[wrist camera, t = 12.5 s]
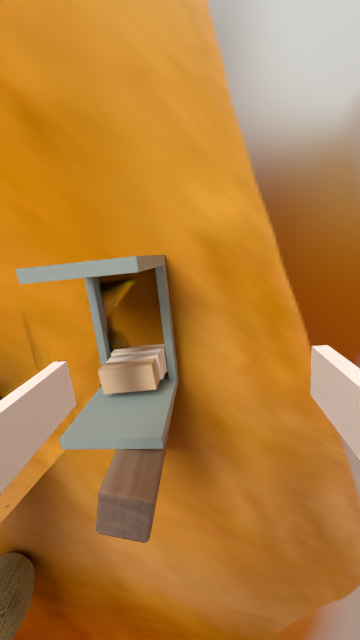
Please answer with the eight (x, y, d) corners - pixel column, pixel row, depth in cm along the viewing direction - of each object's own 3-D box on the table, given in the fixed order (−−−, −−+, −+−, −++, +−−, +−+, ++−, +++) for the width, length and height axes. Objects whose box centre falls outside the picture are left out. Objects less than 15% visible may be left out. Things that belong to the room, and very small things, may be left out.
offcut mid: (117, 377, 34) (111, 386, 32) (111, 356, 34) (104, 363, 31) (166, 370, 33) (162, 379, 31) (161, 348, 32) (157, 355, 30)
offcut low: (121, 367, 37) (115, 375, 34) (116, 347, 36) (110, 353, 33) (169, 364, 36) (167, 372, 33) (166, 342, 35) (163, 349, 32)
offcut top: (110, 384, 32) (103, 394, 30) (105, 363, 31) (97, 371, 29) (159, 380, 31) (156, 389, 29) (155, 357, 30) (151, 365, 28)
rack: (111, 383, 37) (61, 449, 24) (88, 263, 33) (15, 269, 20) (178, 380, 36) (163, 448, 23) (164, 254, 31) (136, 256, 19)
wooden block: (168, 436, 39) (142, 584, 22) (140, 430, 39) (91, 573, 22) (176, 384, 36) (154, 504, 19) (146, 379, 37) (97, 492, 19)
